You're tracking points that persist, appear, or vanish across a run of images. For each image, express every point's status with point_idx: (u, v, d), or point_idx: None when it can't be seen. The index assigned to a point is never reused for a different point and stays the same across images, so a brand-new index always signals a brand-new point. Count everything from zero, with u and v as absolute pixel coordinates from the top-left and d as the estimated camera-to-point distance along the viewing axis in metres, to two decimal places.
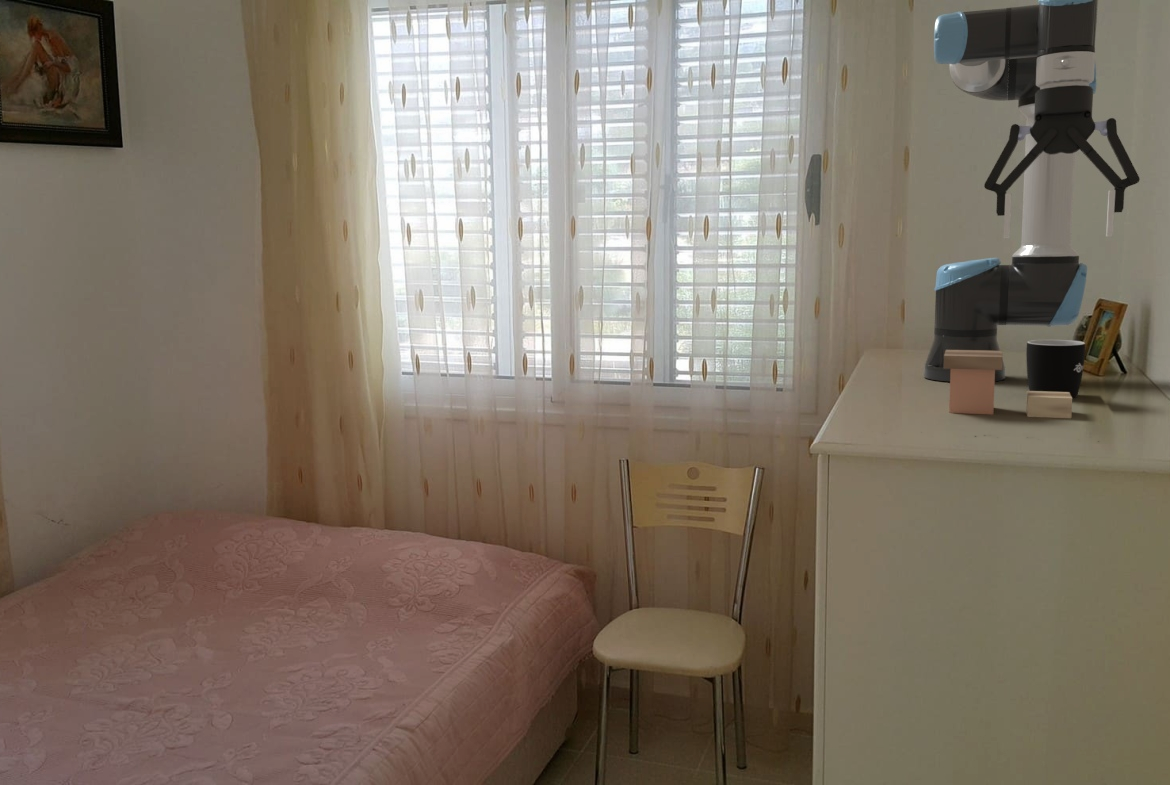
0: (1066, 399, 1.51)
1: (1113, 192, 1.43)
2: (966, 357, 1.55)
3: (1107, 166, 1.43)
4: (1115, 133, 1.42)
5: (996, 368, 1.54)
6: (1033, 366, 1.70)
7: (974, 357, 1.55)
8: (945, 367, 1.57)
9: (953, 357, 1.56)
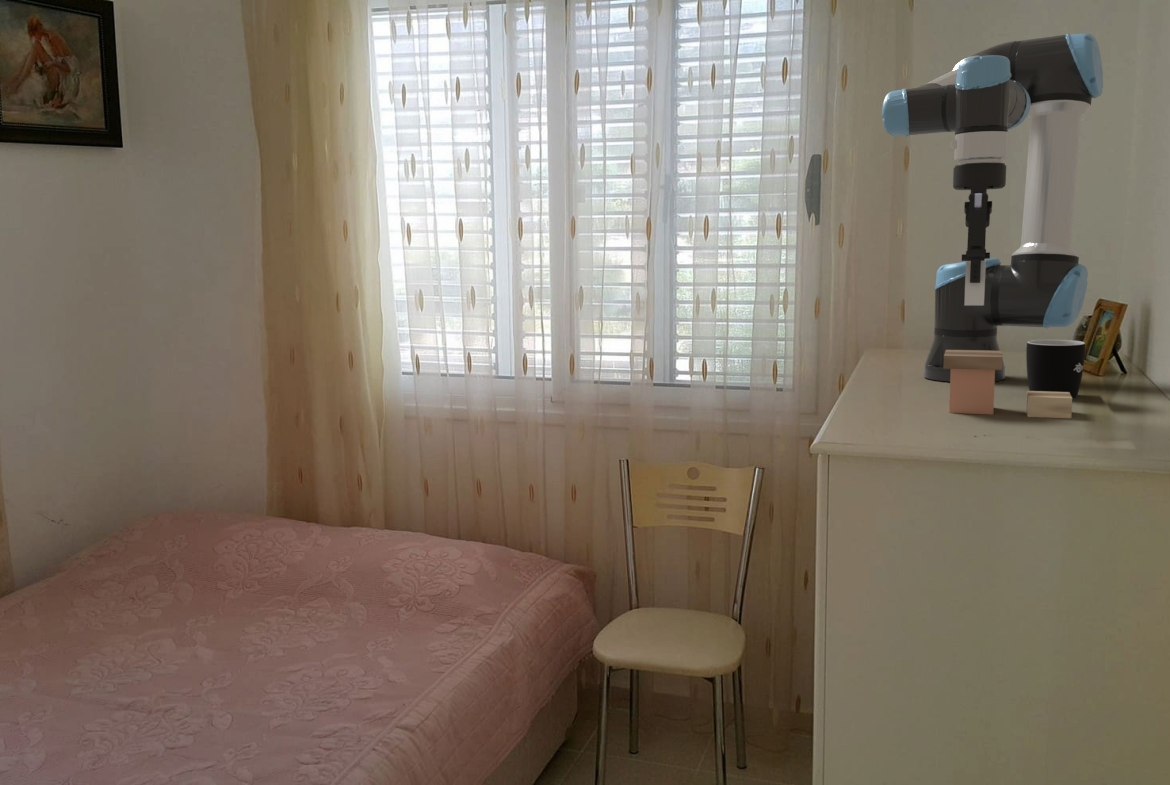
0: (1066, 399, 1.51)
1: (965, 263, 1.51)
2: (966, 357, 1.55)
3: None
4: (969, 208, 1.50)
5: (996, 368, 1.54)
6: (1033, 366, 1.70)
7: (974, 357, 1.55)
8: (945, 367, 1.57)
9: (953, 357, 1.56)
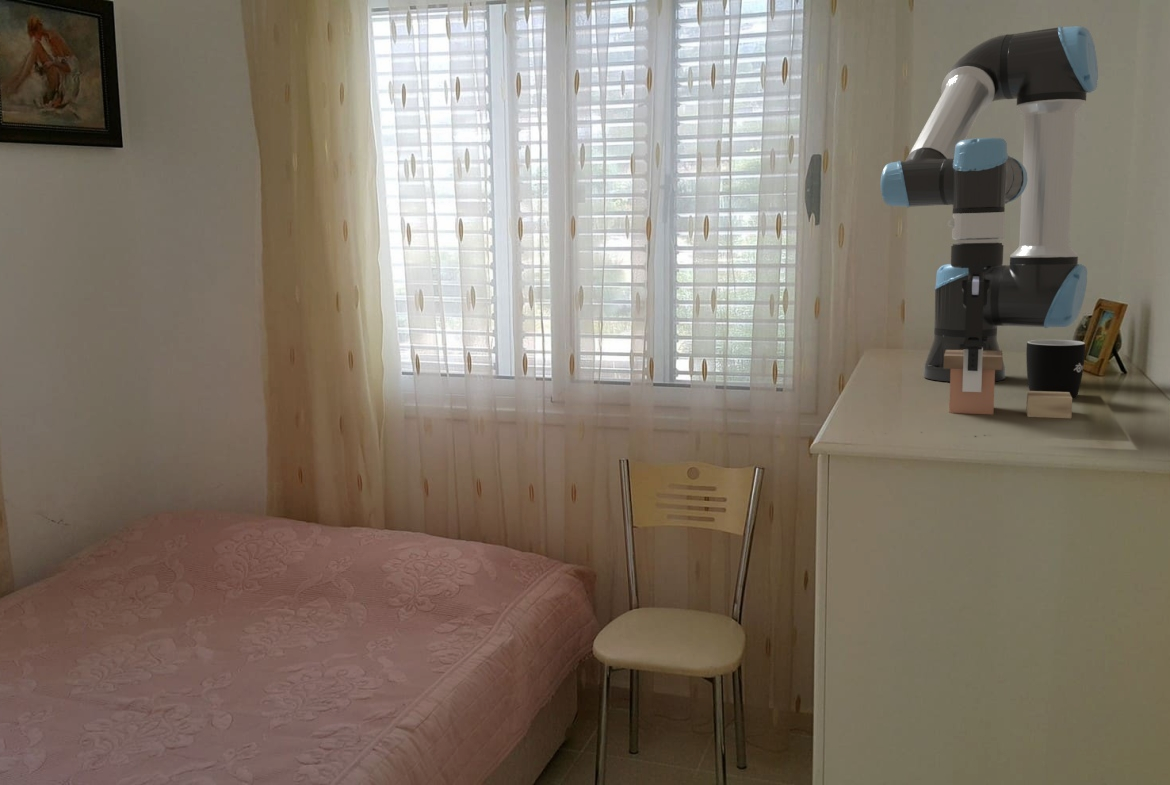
0: (1066, 399, 1.51)
1: None
2: None
3: None
4: (966, 295, 1.52)
5: (996, 368, 1.54)
6: (1033, 366, 1.70)
7: None
8: (945, 367, 1.57)
9: (953, 357, 1.56)
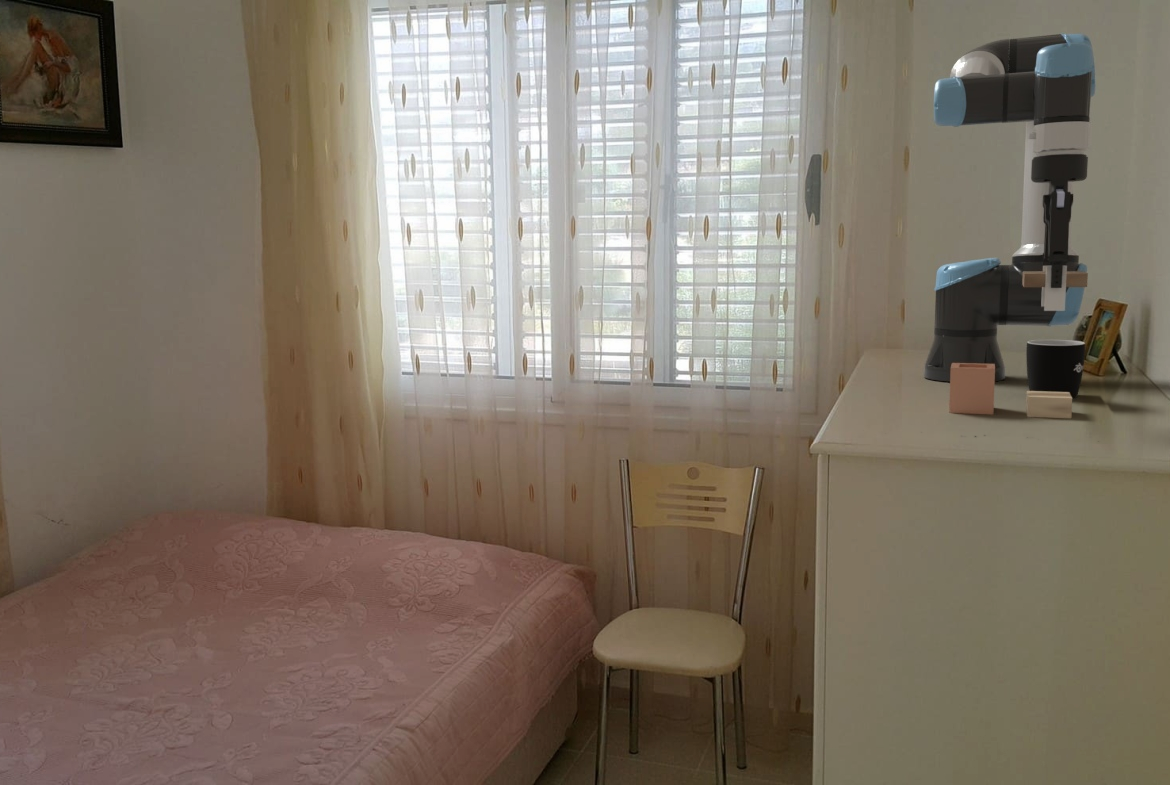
0: (1066, 399, 1.51)
1: (1046, 268, 1.48)
2: None
3: (1048, 240, 1.48)
4: (1051, 208, 1.45)
5: (1080, 285, 1.47)
6: (1033, 366, 1.70)
7: None
8: (1026, 286, 1.50)
9: (1034, 275, 1.49)
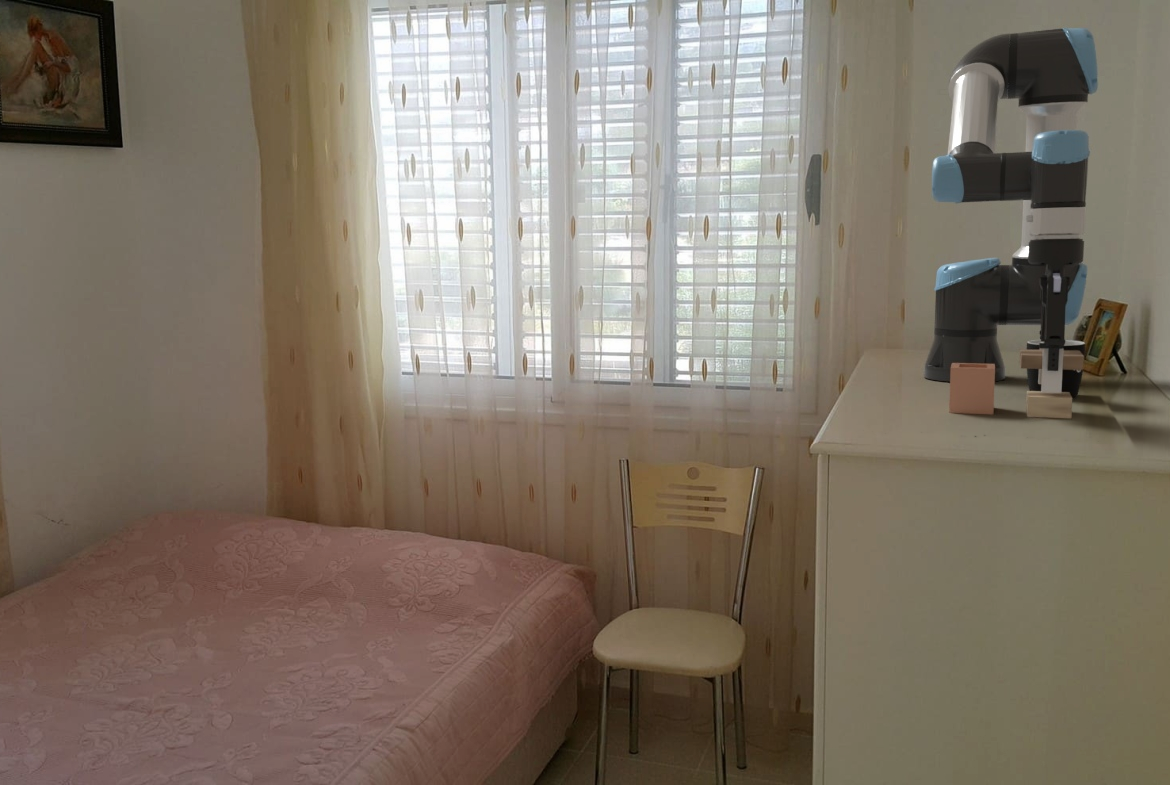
0: (1066, 399, 1.51)
1: (1043, 350, 1.50)
2: None
3: (1045, 323, 1.49)
4: (1047, 292, 1.47)
5: (1077, 368, 1.49)
6: None
7: None
8: (1023, 367, 1.52)
9: (1031, 356, 1.51)
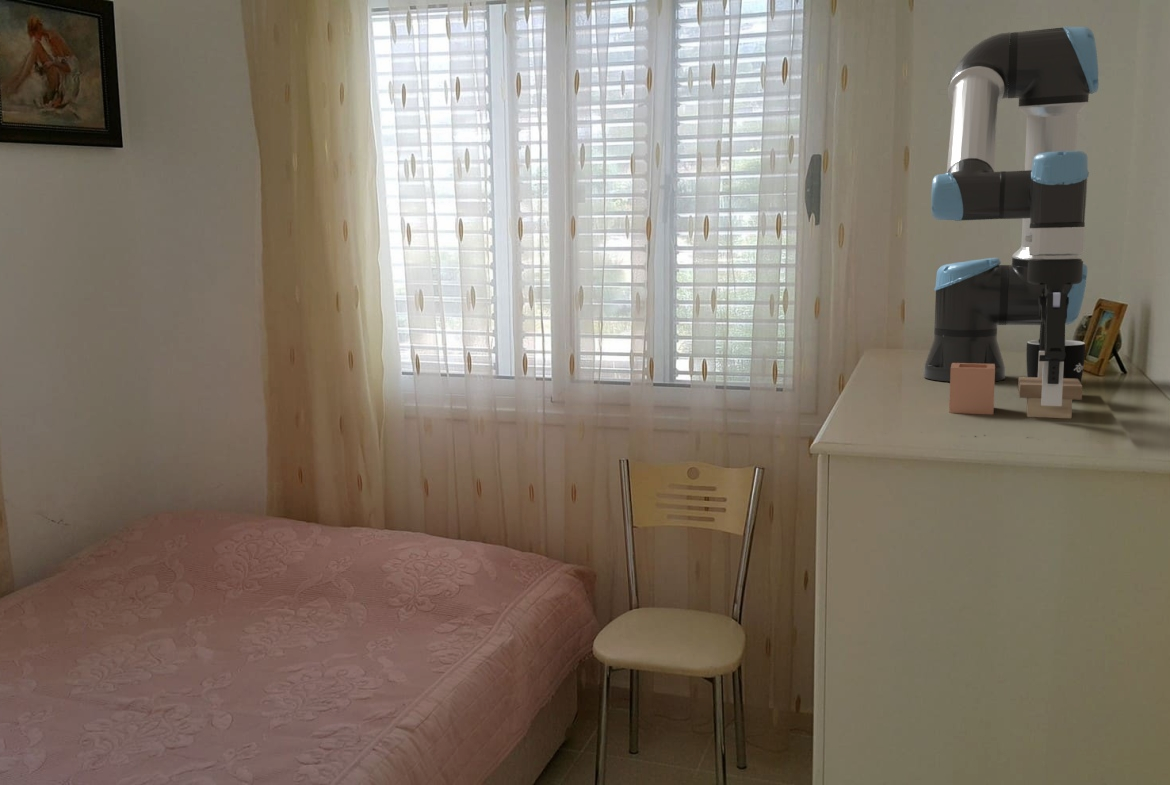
0: (1066, 399, 1.51)
1: (1043, 363, 1.48)
2: None
3: (1045, 338, 1.48)
4: (1047, 307, 1.47)
5: (1075, 398, 1.50)
6: (1033, 366, 1.70)
7: None
8: (1021, 396, 1.52)
9: (1030, 386, 1.52)
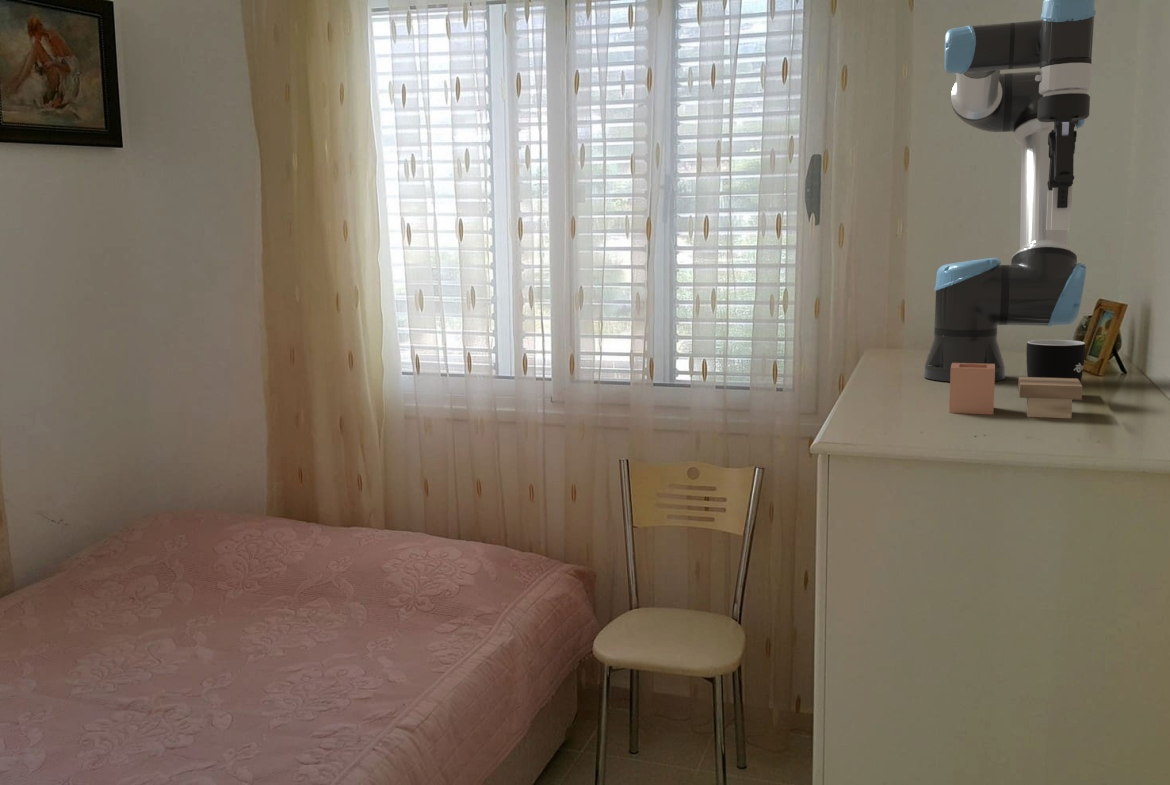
0: (1066, 399, 1.51)
1: (1052, 190, 1.58)
2: (1044, 386, 1.51)
3: (1054, 166, 1.58)
4: (1056, 136, 1.56)
5: (1075, 398, 1.50)
6: (1033, 366, 1.70)
7: (1052, 386, 1.51)
8: (1021, 396, 1.52)
9: (1030, 386, 1.52)
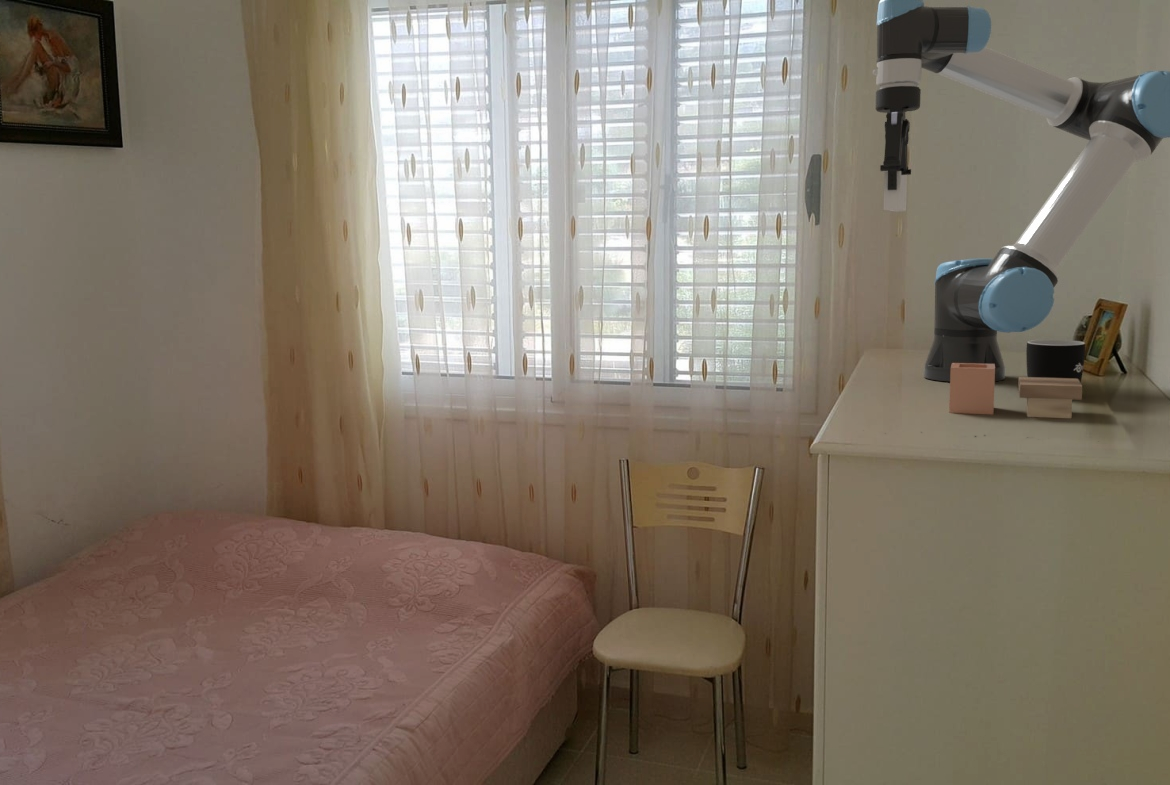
0: (1066, 399, 1.51)
1: None
2: (1044, 386, 1.51)
3: None
4: (886, 125, 1.73)
5: (1075, 398, 1.50)
6: (1033, 366, 1.70)
7: (1052, 386, 1.51)
8: (1021, 396, 1.52)
9: (1030, 386, 1.52)
